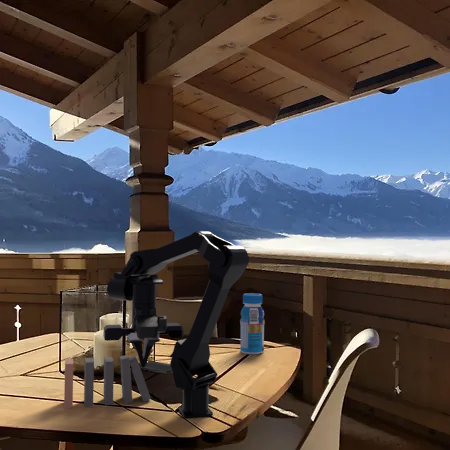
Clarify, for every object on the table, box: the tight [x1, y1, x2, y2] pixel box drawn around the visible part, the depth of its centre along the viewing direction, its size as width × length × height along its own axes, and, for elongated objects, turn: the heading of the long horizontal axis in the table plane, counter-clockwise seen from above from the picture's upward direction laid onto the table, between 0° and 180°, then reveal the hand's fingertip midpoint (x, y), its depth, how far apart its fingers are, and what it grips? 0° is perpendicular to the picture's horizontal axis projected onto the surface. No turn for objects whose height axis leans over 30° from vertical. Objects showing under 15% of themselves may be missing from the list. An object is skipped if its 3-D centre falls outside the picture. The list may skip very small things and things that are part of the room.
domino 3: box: [103, 356, 115, 406], centre depth 122 cm, size 2×5×10 cm, turn 17°
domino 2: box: [83, 357, 95, 408], centre depth 120 cm, size 2×5×10 cm, turn 18°
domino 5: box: [128, 354, 152, 403], centre depth 124 cm, size 2×5×10 cm, turn 16°
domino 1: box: [63, 358, 74, 410], centre depth 119 cm, size 2×5×10 cm, turn 17°
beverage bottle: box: [239, 292, 266, 355], centre depth 178 cm, size 8×8×20 cm
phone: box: [140, 360, 173, 375], centre depth 154 cm, size 8×1×15 cm
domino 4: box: [119, 354, 133, 405], centre depth 123 cm, size 2×5×10 cm, turn 17°
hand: (142, 367), depth 124 cm, fingers closed
